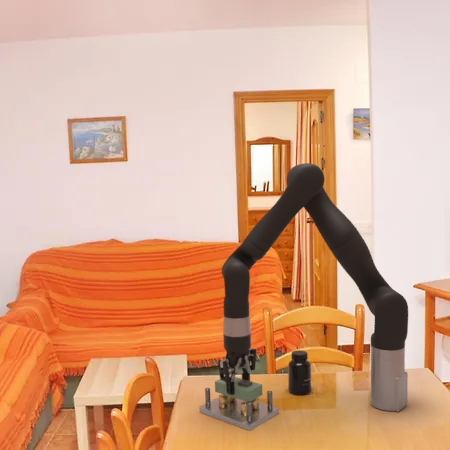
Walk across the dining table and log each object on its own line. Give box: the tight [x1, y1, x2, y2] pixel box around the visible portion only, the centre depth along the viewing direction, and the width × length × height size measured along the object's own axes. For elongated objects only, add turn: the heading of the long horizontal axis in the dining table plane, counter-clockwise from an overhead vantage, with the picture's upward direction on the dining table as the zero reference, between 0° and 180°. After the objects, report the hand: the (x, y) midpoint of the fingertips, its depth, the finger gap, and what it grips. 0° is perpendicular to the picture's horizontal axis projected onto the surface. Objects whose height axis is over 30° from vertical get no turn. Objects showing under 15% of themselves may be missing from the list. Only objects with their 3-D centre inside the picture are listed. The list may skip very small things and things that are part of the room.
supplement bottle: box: [287, 350, 312, 396], centre depth 167 cm, size 7×7×12 cm
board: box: [214, 375, 263, 402], centre depth 153 cm, size 12×6×4 cm, turn 50°
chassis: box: [198, 387, 280, 431], centre depth 154 cm, size 18×13×6 cm
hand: (238, 390), depth 153 cm, fingers closed on board, 6 cm apart
